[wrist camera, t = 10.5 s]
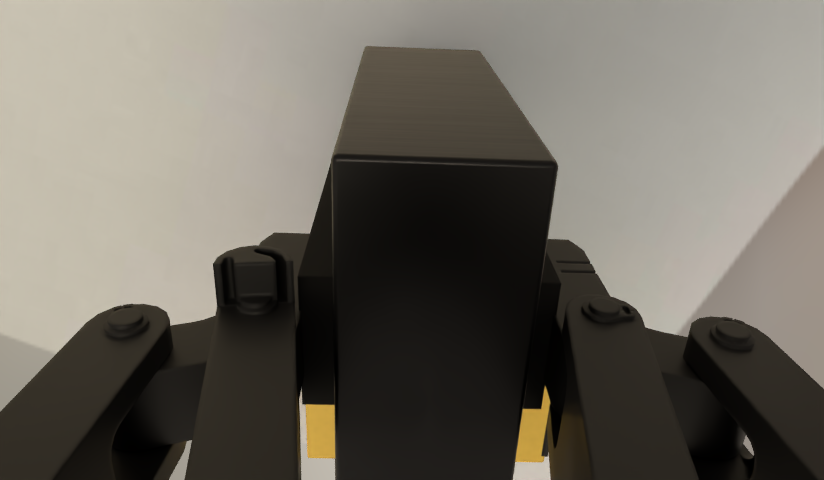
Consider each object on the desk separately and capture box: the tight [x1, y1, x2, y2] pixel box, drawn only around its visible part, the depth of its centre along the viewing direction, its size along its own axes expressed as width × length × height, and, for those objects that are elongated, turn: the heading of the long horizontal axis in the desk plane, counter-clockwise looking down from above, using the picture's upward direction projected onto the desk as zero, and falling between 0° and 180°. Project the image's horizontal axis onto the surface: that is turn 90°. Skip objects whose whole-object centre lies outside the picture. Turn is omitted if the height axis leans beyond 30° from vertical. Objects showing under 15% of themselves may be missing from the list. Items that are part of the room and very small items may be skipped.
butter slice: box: [306, 404, 335, 458], centre depth 28 cm, size 3×5×4 cm, turn 178°
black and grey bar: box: [331, 46, 558, 480], centre depth 16 cm, size 18×3×9 cm, turn 178°
